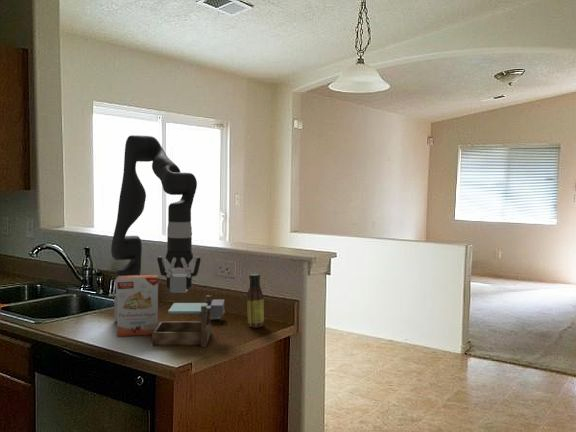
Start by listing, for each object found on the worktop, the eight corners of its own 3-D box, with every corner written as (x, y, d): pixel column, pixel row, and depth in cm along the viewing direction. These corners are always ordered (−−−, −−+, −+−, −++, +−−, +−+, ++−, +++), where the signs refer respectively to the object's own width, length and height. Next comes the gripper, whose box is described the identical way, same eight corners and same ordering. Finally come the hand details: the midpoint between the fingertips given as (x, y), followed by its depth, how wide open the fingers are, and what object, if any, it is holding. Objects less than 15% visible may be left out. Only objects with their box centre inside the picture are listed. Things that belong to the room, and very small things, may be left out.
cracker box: (117, 337, 183) (116, 278, 182) (117, 332, 189) (117, 275, 188) (158, 334, 187) (158, 276, 186) (157, 330, 193) (157, 273, 192)
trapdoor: (168, 318, 175) (168, 306, 175) (174, 309, 187) (174, 298, 187) (222, 318, 176) (222, 306, 176) (224, 309, 188) (224, 298, 188)
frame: (151, 347, 173) (151, 306, 172) (161, 332, 190) (161, 295, 190) (206, 347, 174) (206, 306, 173) (211, 332, 191) (211, 295, 191)
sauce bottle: (266, 325, 202) (267, 273, 201) (259, 329, 196) (259, 276, 195) (251, 323, 205) (252, 272, 203) (243, 326, 199) (244, 275, 198)
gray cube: (169, 292, 164) (169, 276, 164) (172, 289, 169) (172, 273, 169) (186, 292, 165) (186, 276, 164) (188, 289, 170) (188, 274, 169)
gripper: (154, 236, 162) (154, 291, 163) (201, 237, 162) (200, 291, 164) (158, 234, 169) (158, 286, 170) (203, 234, 170) (203, 286, 171)
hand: (179, 288), depth 167 cm, fingers closed on gray cube, 5 cm apart
